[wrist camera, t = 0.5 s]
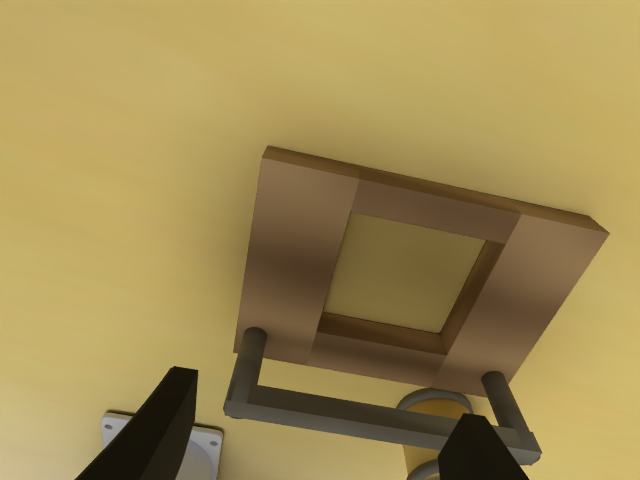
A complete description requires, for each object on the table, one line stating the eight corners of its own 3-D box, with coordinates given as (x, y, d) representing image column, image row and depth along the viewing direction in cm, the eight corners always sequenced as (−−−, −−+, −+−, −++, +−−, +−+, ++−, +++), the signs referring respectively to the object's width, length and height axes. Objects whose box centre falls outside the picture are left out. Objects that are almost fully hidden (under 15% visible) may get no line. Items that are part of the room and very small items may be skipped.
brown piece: (488, 376, 24) (531, 479, 19) (239, 331, 23) (211, 427, 17) (589, 216, 18) (689, 298, 13) (267, 145, 17) (238, 205, 12)
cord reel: (454, 440, 27) (476, 522, 23) (386, 429, 27) (396, 510, 22) (483, 394, 25) (514, 476, 20) (409, 381, 24) (425, 461, 20)
